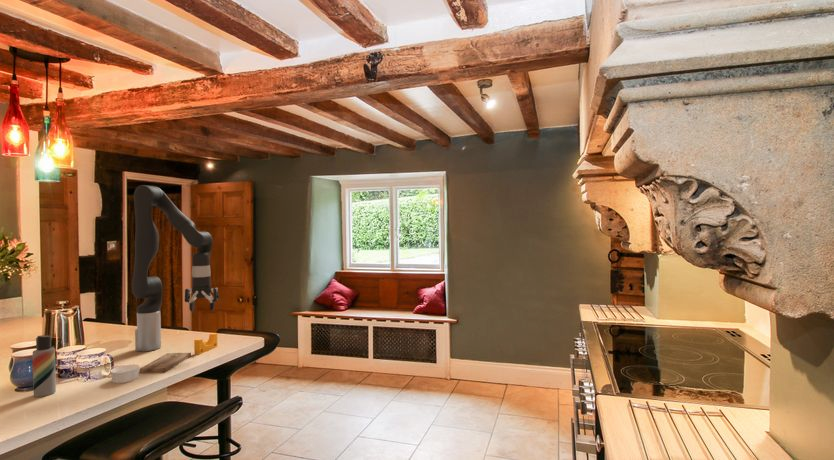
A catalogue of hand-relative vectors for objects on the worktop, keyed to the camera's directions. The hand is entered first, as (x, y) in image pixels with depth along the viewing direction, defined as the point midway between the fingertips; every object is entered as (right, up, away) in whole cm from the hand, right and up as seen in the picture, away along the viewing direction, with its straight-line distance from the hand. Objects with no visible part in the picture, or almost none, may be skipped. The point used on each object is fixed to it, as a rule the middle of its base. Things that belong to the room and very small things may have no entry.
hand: (202, 311), depth 193 cm
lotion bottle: (-28, -19, -49) cm, 60 cm away
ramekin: (-10, -19, -36) cm, 42 cm away
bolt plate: (-5, -18, -19) cm, 27 cm away
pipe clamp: (+1, -18, 0) cm, 18 cm away
